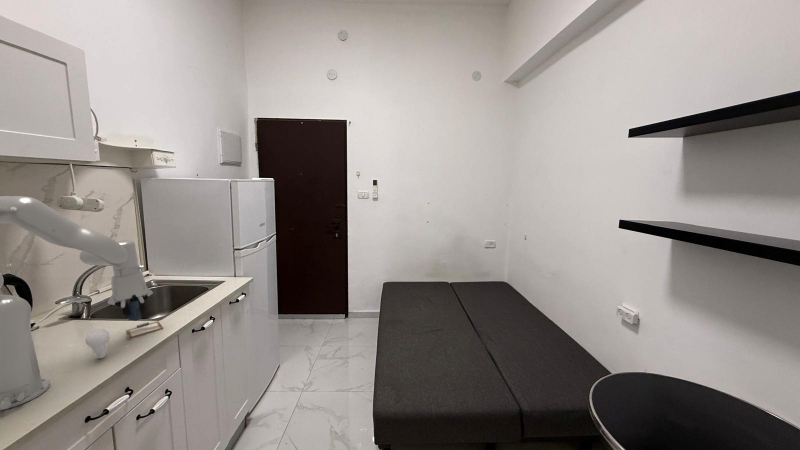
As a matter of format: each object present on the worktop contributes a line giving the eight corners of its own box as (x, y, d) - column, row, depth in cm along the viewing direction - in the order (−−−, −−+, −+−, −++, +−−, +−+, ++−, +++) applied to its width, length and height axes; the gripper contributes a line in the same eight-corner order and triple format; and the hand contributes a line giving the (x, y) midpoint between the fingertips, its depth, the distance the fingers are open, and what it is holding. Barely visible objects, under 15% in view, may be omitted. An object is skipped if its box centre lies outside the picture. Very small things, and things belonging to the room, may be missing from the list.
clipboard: (163, 328, 127) (162, 325, 127) (129, 339, 119) (128, 336, 118) (158, 322, 133) (158, 319, 132) (126, 331, 124) (125, 328, 124)
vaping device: (136, 321, 119) (131, 293, 117) (126, 319, 120) (121, 292, 118) (143, 318, 122) (138, 291, 120) (133, 317, 123) (128, 290, 121)
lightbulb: (101, 363, 103) (96, 334, 101) (83, 363, 103) (78, 334, 101) (117, 353, 109) (113, 325, 107) (101, 353, 109) (96, 325, 107)
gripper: (151, 264, 126) (157, 304, 129) (96, 274, 114) (104, 318, 117) (155, 268, 121) (161, 309, 124) (97, 278, 109) (106, 324, 112)
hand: (134, 313), depth 121 cm, fingers closed on vaping device, 3 cm apart
